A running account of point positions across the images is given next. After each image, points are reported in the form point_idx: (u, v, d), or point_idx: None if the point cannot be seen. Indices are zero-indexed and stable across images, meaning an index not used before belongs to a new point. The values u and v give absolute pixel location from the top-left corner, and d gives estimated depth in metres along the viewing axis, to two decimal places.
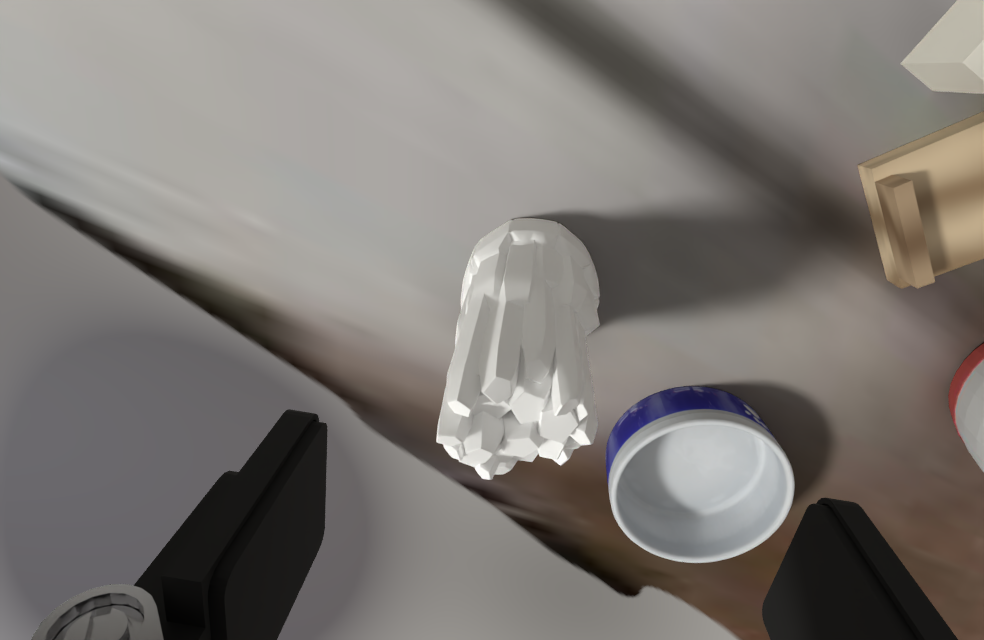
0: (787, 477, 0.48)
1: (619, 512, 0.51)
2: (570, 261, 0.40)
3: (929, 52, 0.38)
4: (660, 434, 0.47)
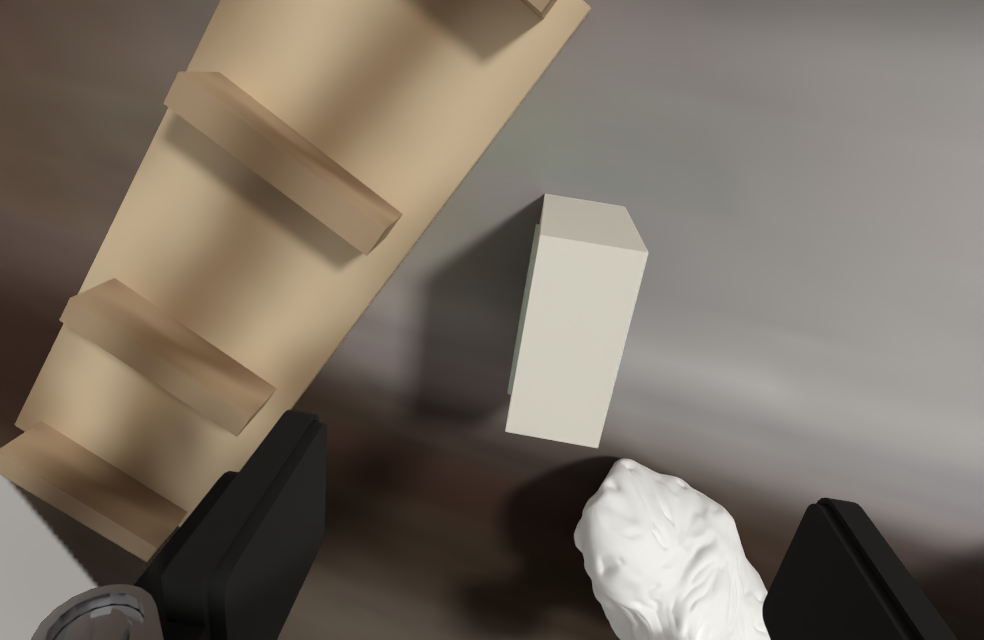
0: None
1: None
2: None
3: None
4: None
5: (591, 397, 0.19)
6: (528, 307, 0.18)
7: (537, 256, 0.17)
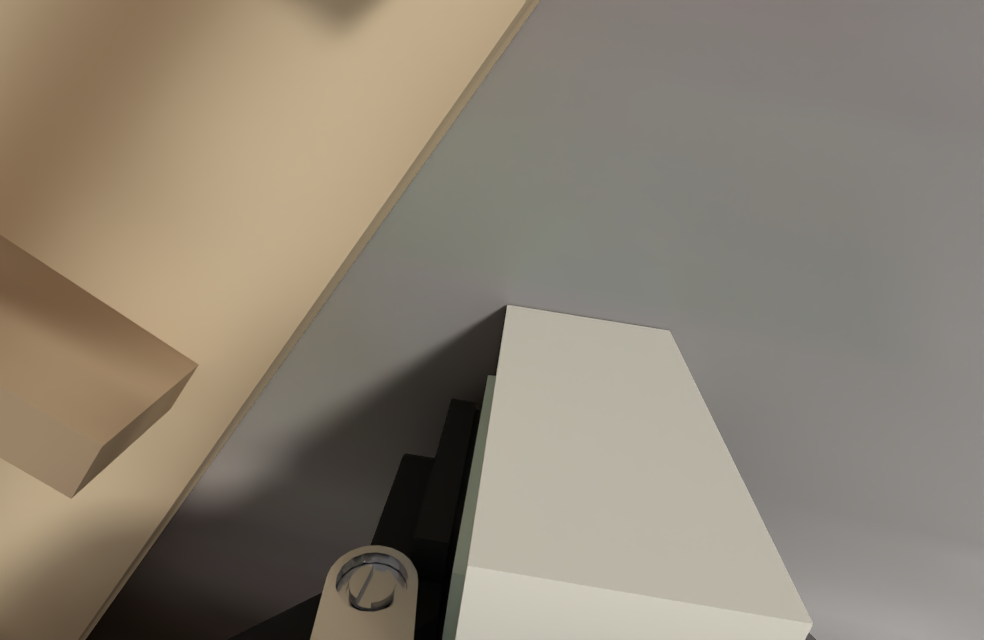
0: None
1: None
2: None
3: None
4: None
5: None
6: None
7: (462, 614, 0.06)
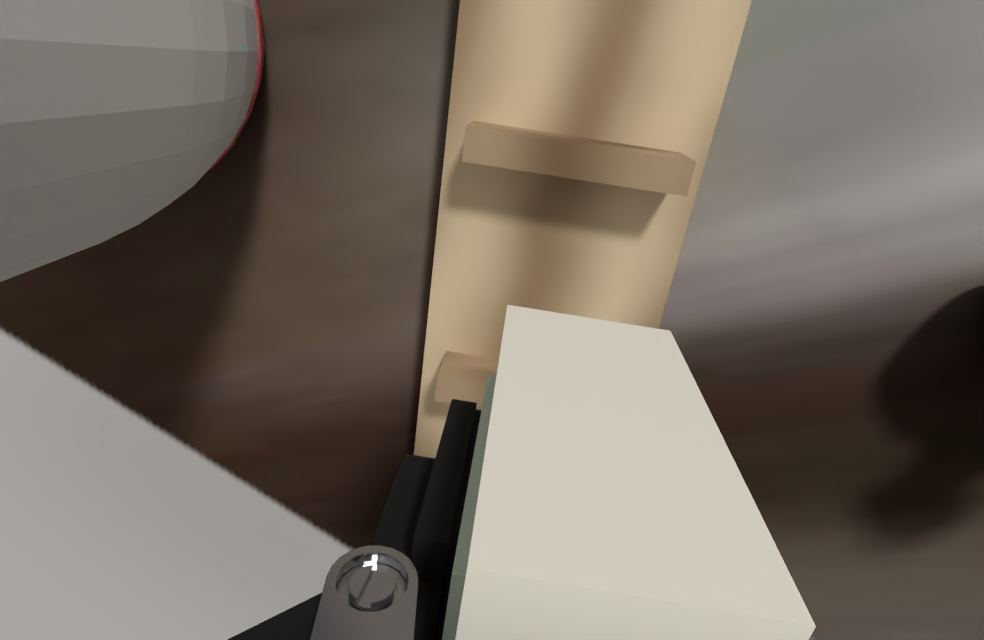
0: None
1: None
2: None
3: None
4: None
5: None
6: None
7: (462, 616, 0.06)
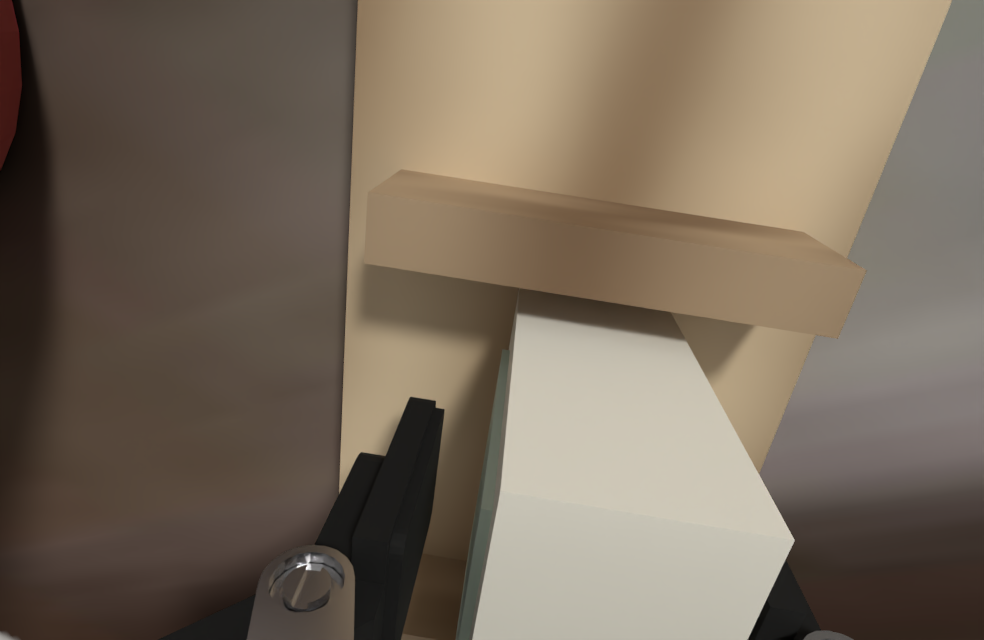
0: None
1: None
2: None
3: None
4: None
5: None
6: (475, 638, 0.07)
7: (494, 536, 0.07)
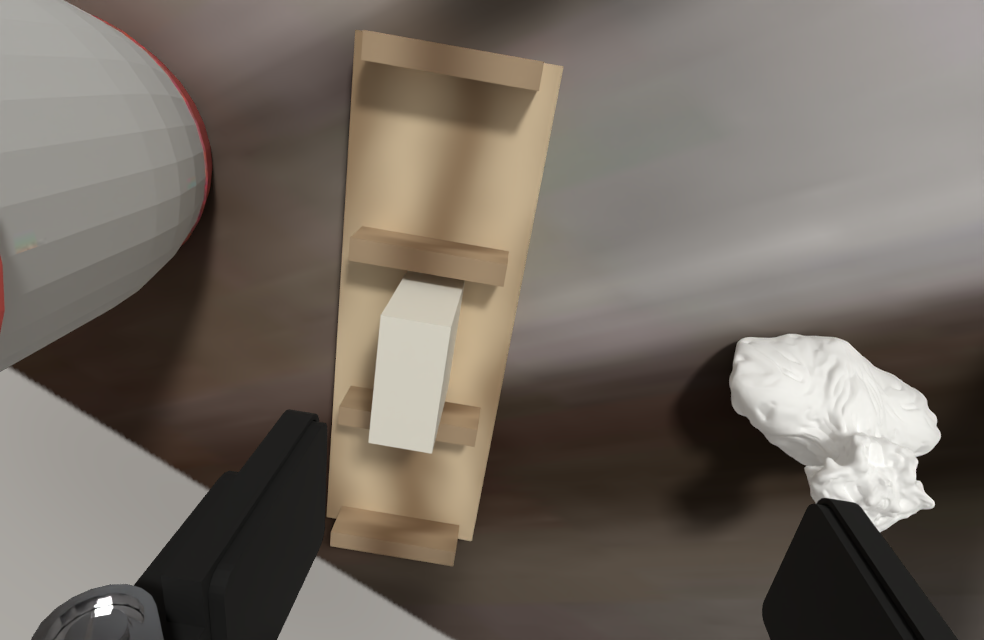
0: None
1: None
2: None
3: (458, 308, 0.30)
4: None
5: (424, 419, 0.28)
6: (377, 360, 0.27)
7: (380, 328, 0.26)
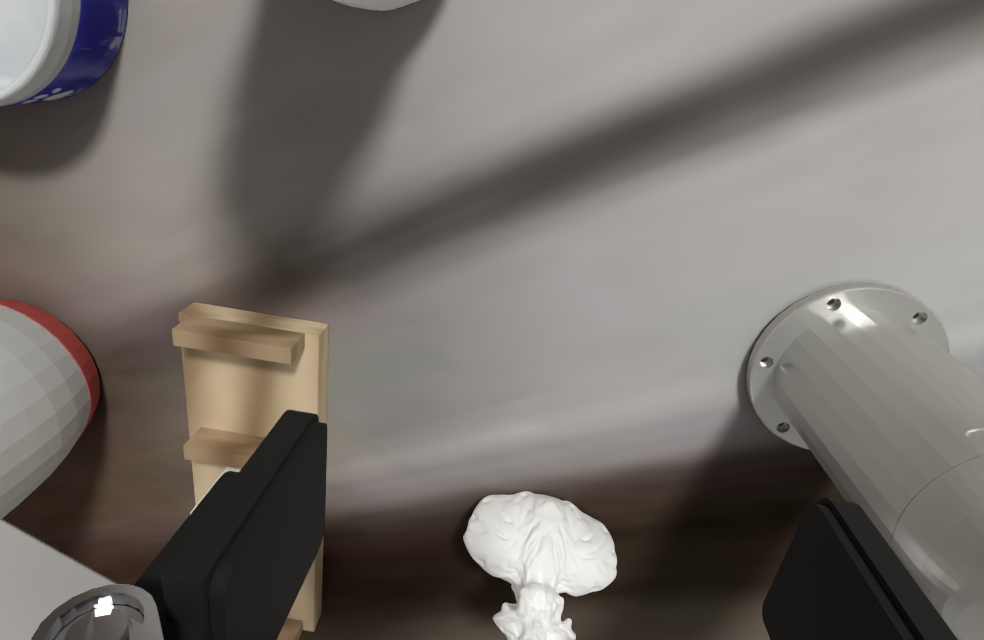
0: None
1: None
2: None
3: None
4: None
5: None
6: None
7: None
